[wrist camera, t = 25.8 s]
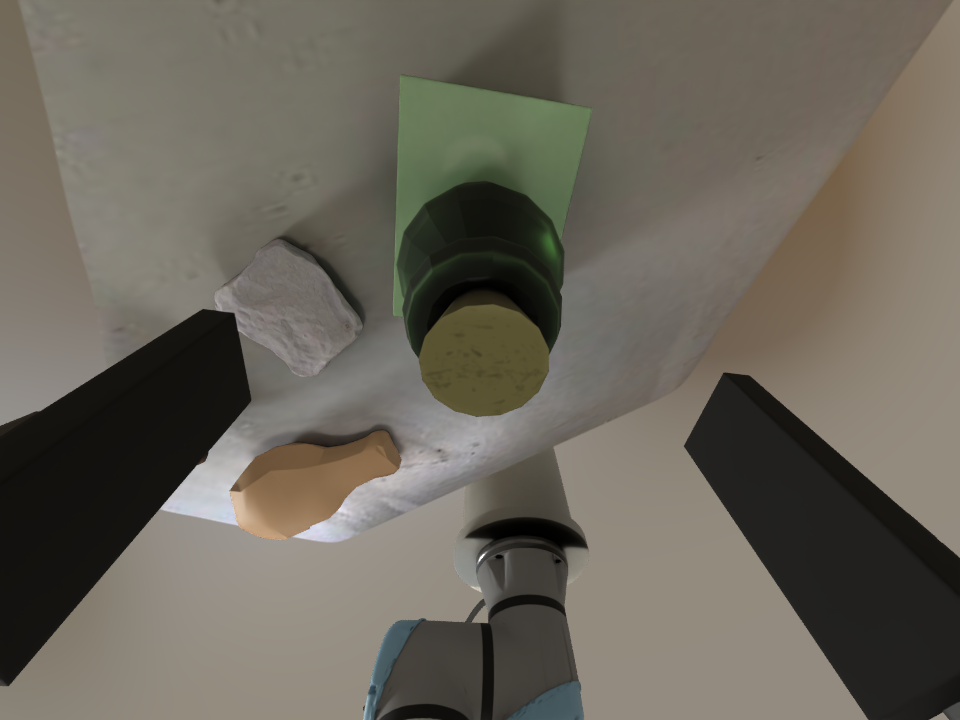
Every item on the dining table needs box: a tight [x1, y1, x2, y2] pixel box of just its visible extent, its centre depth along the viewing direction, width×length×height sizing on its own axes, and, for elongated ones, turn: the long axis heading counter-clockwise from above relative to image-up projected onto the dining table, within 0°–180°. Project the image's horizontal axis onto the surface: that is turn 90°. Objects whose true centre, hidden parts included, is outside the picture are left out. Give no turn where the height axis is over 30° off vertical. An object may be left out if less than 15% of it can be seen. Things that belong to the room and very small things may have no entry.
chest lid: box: [393, 75, 592, 317], centre depth 27 cm, size 15×12×1 cm
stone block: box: [215, 239, 363, 377], centre depth 37 cm, size 12×5×10 cm
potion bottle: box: [396, 181, 564, 417], centre depth 19 cm, size 8×8×18 cm
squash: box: [230, 430, 402, 540], centre depth 46 cm, size 11×20×9 cm, turn 112°
